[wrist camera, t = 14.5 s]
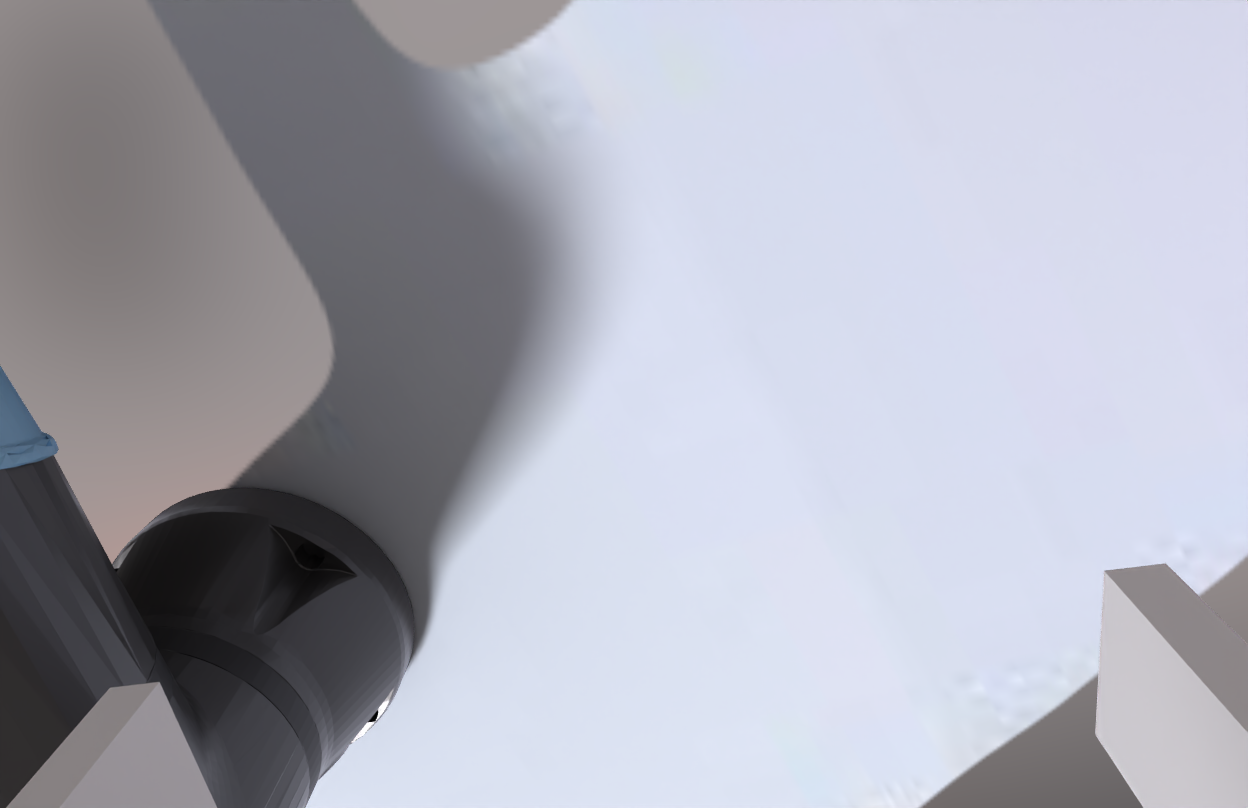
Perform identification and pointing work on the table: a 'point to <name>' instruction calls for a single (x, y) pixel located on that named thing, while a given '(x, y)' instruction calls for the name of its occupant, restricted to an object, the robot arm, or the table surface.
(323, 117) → the table surface
